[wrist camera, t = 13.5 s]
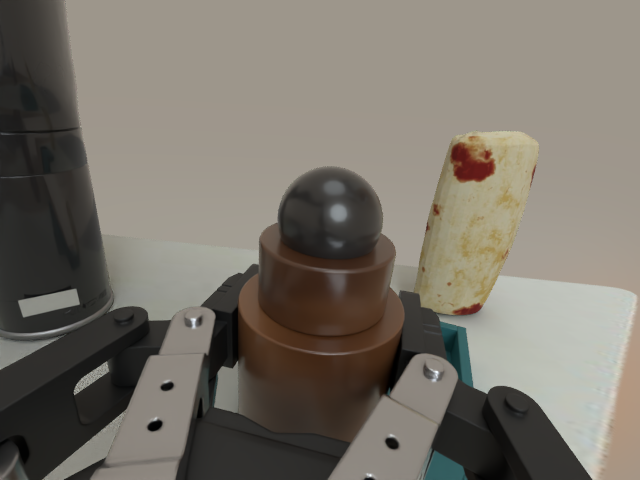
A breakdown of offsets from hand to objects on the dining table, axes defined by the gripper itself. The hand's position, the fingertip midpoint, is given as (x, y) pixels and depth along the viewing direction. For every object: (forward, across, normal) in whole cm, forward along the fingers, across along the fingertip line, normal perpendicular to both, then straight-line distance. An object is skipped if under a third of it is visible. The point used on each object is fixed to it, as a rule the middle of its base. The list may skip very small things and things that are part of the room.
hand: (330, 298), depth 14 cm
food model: (+25, -11, +14) cm, 30 cm away
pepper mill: (-3, 0, +8) cm, 9 cm away
